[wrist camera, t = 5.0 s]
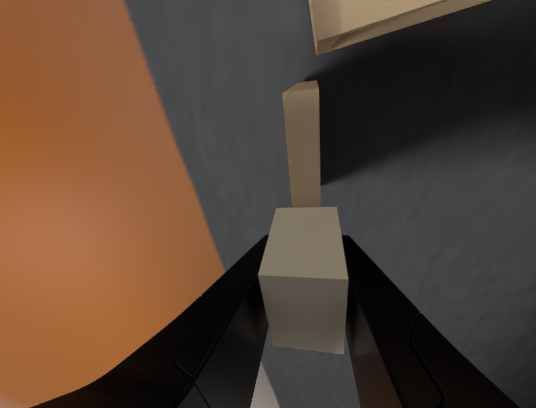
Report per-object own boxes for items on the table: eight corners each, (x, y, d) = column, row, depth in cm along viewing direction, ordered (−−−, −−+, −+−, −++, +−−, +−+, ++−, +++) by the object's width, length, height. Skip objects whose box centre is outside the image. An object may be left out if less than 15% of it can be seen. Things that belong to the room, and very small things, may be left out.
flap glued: (326, 78, 12) (360, 100, 3) (326, 191, 15) (343, 354, 6) (288, 84, 12) (224, 116, 3) (296, 192, 15) (273, 346, 7)
